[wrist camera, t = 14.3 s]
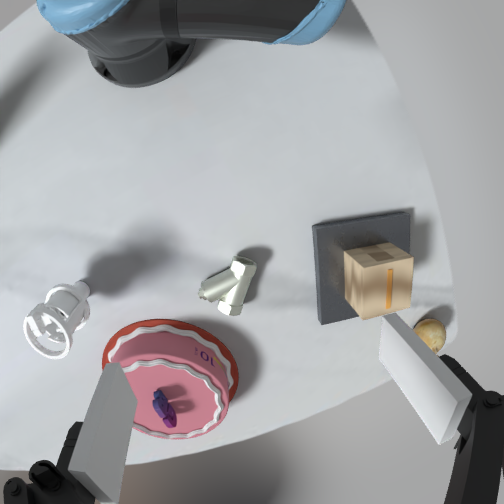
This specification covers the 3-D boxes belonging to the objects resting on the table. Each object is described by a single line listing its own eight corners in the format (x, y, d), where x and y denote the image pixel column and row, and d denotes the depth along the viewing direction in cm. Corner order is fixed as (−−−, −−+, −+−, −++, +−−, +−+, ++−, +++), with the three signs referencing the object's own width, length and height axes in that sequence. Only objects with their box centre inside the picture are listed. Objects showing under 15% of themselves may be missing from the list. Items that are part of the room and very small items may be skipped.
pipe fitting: (197, 294, 48) (239, 306, 49) (194, 306, 44) (239, 318, 45) (211, 246, 46) (256, 259, 47) (209, 254, 42) (257, 269, 43)
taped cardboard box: (388, 288, 49) (410, 307, 42) (344, 298, 48) (363, 321, 42) (389, 242, 46) (414, 257, 39) (343, 250, 46) (364, 268, 39)
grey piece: (312, 225, 46) (329, 240, 39) (403, 211, 47) (430, 223, 40) (318, 318, 51) (333, 344, 44) (400, 298, 52) (422, 319, 45)
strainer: (89, 263, 44) (47, 310, 30) (108, 303, 46) (76, 359, 32) (56, 276, 44) (10, 322, 30) (74, 313, 46) (38, 367, 32)
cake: (255, 405, 57) (262, 446, 47) (142, 428, 56) (135, 467, 46) (209, 299, 48) (209, 338, 38) (78, 337, 48) (57, 374, 38)
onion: (400, 328, 55) (419, 348, 48) (432, 305, 54) (452, 323, 48) (408, 353, 57) (425, 373, 51) (437, 332, 57) (456, 350, 50)
